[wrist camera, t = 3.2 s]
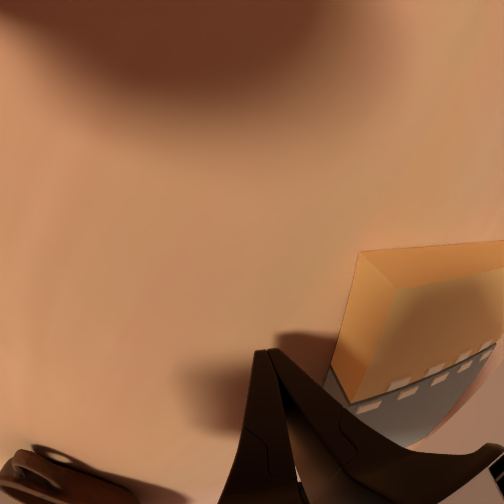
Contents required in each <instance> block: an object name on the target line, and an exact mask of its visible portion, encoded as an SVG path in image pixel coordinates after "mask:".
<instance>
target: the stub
mask: <svg viewBox="0 0 504 504" xmlns="http://www.w3.org/2000/svg"><path fill="white" fill-rule="evenodd" d="M503 332H504V240H503V241H491V242H479V243H467V244H455V245H443V246H430V247H418V248H405V249H392V250H379V251H366V252H359V256H358V261H357V265H356V270H355V275H354V279H353V283H352V288H351V292H350V296H349V300H348V304H347V308H346V312H345V316H344V319H343V323H342V327H341V330H340V334H339V337H338V341H337V344H336V348H335V351H334V354H333V358H332V361H331V366H332V368H333V370H334V372H335V373H336V375H337V377H338V379H339V381H340V383H341V385H342V387H343V389H344V391H345V393H346V395H347V397H348V399H349V401H350V403H354V402H357V401H361V400H364V399H367V398H370V397H373V396H377V395H380V394H382V393H385V392H389V391H392V390H395V389H397V388H400V387H403V386H405V385H407V384H410V383H412V382H415V381H417V380H420V379H422V378H425V377H428V376H430V375H432V374H435V373H437V372H439V371H441V370H443V369H445V368H447V367H450V366H452V365H454V364H456V363H458V362H460V361H462V360H464V359H466V358H468V357H470V356H472V355H474V354H476V353H477V352H480V351H481V350H483V349H485V348H487V347H488V346H490V345H492V344H494V343H495V342H497V341H499V339H500V338H501V336H502V334H503Z"/></svg>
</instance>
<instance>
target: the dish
mask: <svg viewBox="0 0 504 504" xmlns="http://www.w3.org/2000/svg"><path fill="white" fill-rule="evenodd" d="M0 490H1V491H2V492H4V493H5V494H7V495H8V496H10V497H12V498H13V499H15V500H17V501H19V502H21V503H23V504H141V503H140V501H139V500H138V498H137V497H136V496H135V495H133V494H132V493H130V492H129V491H127V490H125V489H123V488H121V487H118V486H116V485H113V484H111V483H108V482H106V481H103V480H100V479H98V478H95V477H92V476H89V475H86V474H83V473H80V472H77V471H74V470H71V469H68V468H65V467H62V466H59V465H56V464H53V463H51V462H50V461H48V460H46V459H45V458H43V457H41V456H39V455H37V454H35V453H34V452H31V451H28V450H23V449H20V450H18V451H17V452H16V453H15V455H14V457H13V458H11V459H9V460H8V461H7V462H6V464H5V465H4V466H3V468H2V470H1V471H0Z"/></svg>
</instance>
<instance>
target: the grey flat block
mask: <svg viewBox="0 0 504 504" xmlns="http://www.w3.org/2000/svg"><path fill="white" fill-rule="evenodd" d="M496 344H497V343H496V342H495V343H494V344H492V345H490V346H488V347H487V348H485V349H483V350H481V351H480V352H477V353H476V354H474V355H472V356H470V357H468V358H466V359H464V360H462V361H460V362H458V363H456V364H454V365H452V366H450V367H447V368H445V369H443V370H441V371H439V372H437V373H435V374H432V375H430V376H428V377H425V378H422V379H420V380H417V381H415V382H412V383H410V384H407V385H405V386H403V387H400V388H397V389H395V390H392V391H389V392H385V393H382V394H380V395H377V396H373V397H370V398H367V399H364V400H361V401H357V402H354V403H350V401H349V399H348V397H347V395H346V393H345V391H344V389H343V387H342V385H341V383H340V381H339V379H338V377H337V375H336V373H335V372H334V370H333V368H332V367H331V368H329V370H328V373H327V376H326V380H325V383H324V385H323V389H324V390H325V391H327V392H328V393H329V394H330V395H331V396H332V397H333V398H335V399H336V400H337V401H338V402H339V403H340V404H342V405H343V408H344V407H345V408H346V409H347V410H349V411H350V412H351V413H352V414H353V415H355V416H356V417H357V418H358V419H360V420H361V421H362V422H364V423H365V424H366V425H368V426H369V427H371V428H372V429H374V430H375V431H377V432H379V433H380V434H382V435H383V436H385V437H387V438H388V439H390V440H391V441H393V442H395V443H396V444H398V445H400V446H402V447H403V448H405V447H407V446H410V445H412V444H414V443H416V442H418V441H420V440H422V439H423V438H425V437H427V436H428V435H429V433H430V432H431V431H432V430H433V429H434V428H435V427H436V426H437V425H438V424H439V423H440V421H441V420H442V419H443V418H444V417H445V416H446V414H447V413H448V412H449V411H450V410H451V408H452V407H453V406H454V405H455V404H456V402H457V401H458V400H459V398H460V397H461V396H462V395H463V393H464V392H465V391H466V389H467V388H468V387H469V385H470V384H471V383H472V381H473V380H474V378H475V377H476V375H477V374H478V373H479V371H480V370H481V368H482V367H483V365H484V364H485V362H486V361H487V359H488V357H489V356H490V354H491V353H492V351H493V349H494V348H495V346H496Z"/></svg>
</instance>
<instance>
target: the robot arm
mask: <svg viewBox="0 0 504 504" xmlns="http://www.w3.org/2000/svg"><path fill="white" fill-rule="evenodd" d="M503 452H504V447H503V446H501V445H499V444H494V443H486V444H485V445H483V446H482V447H481V448H480V449H478V450H477V451H475V452H473V453H471V454H466V455H450V454H449V455H448V454H435V453H424V452H415V451H411V450H408V449H406V448H403V447H402V446H400V445H398V444H396V443H395V442H393V441H391V440H390V439H388V438H387V437H385V436H383V435H382V434H380V433H379V432H377V431H375V430H374V429H372V428H371V427H369V426H368V425H366V424H365V423H364V422H362V421H361V420H360V419H358V418H357V417H356V416H355V415H353V414H352V413H351V412H350V411H349V410H347V409H346V408H345V407H344V408H343V405H342V404H340V403H339V402H338V401H337V400H336V399H335V398H333V397H332V396H331V395H330V394H329V393H328V392H327V391H325V390H324V389H323V388H322V387H321V386H320V385H319V384H318V383H316V382H315V381H314V380H313V379H312V378H311V377H310V376H309V375H308V374H306V373H305V372H304V371H303V370H302V369H301V368H300V367H299V366H298V365H297V364H296V363H294V362H293V361H292V360H291V359H290V358H289V357H288V356H287V355H286V354H285V353H284V352H283V351H282V350H280V349H279V348H271V349H267V350H265V349H264V350H256V351H255V352H254V358H253V364H252V370H251V376H250V382H249V388H248V394H247V400H246V406H245V412H244V418H243V424H242V429H241V435H240V440H239V445H238V449H237V453H236V456H235V459H234V462H233V465H232V468H231V470H230V473H229V476H228V478H227V481H226V484H225V486H224V489H223V491H222V494H221V496H220V499H219V501H218V503H217V504H504V454H503V455H502V456H501V457H500V458H499V459H498V460H496V459H497V458H498V457H499V456H500V455H501V454H502V453H503ZM494 460H496V461H495V462H494V463H493V464H492V465H491V466H489V465H490V464H491V463H492V462H493V461H494ZM295 466H296V469H297V472H298V474H299V477H300V479H301V482H302V483H300V484H298V481H297V475H296V469H295ZM488 466H489V467H488Z"/></svg>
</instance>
